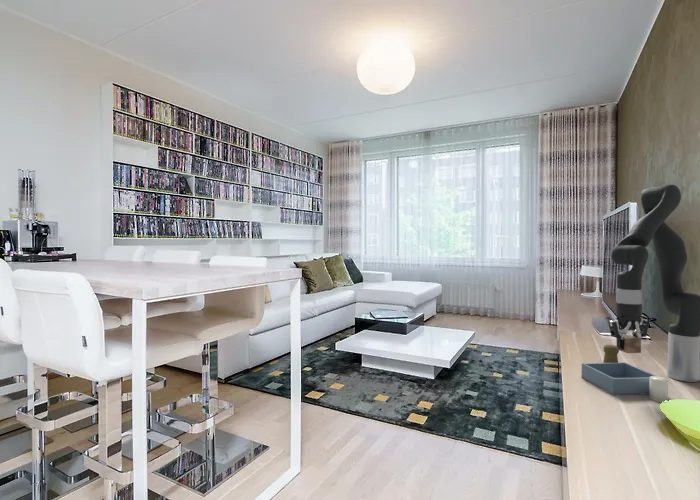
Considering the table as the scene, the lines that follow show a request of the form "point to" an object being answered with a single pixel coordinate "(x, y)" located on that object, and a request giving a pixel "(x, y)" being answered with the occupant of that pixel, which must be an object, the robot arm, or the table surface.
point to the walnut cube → (631, 344)
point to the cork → (610, 354)
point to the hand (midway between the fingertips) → (628, 348)
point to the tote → (617, 378)
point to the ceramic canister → (658, 388)
